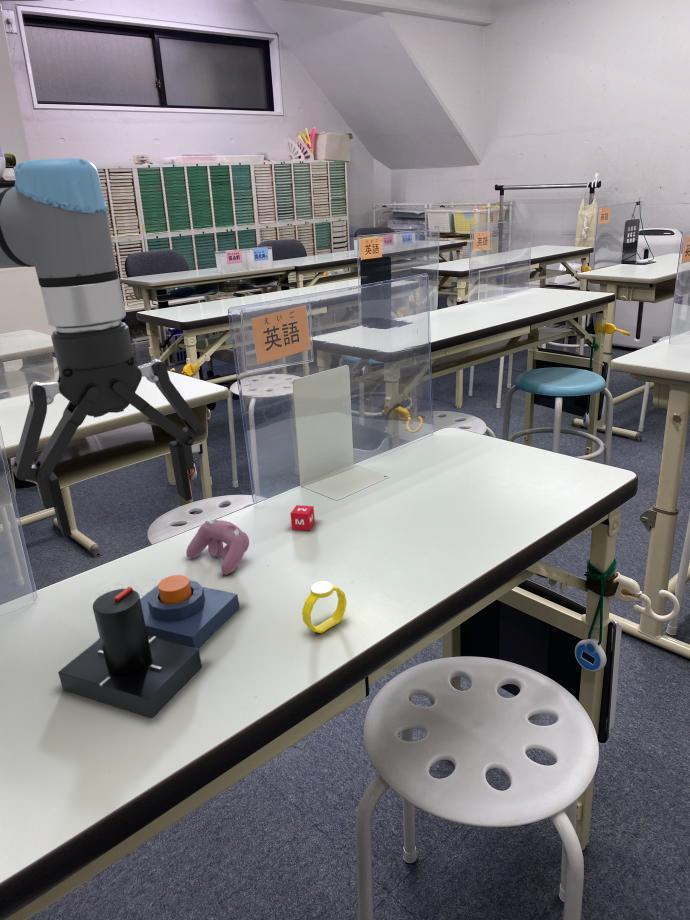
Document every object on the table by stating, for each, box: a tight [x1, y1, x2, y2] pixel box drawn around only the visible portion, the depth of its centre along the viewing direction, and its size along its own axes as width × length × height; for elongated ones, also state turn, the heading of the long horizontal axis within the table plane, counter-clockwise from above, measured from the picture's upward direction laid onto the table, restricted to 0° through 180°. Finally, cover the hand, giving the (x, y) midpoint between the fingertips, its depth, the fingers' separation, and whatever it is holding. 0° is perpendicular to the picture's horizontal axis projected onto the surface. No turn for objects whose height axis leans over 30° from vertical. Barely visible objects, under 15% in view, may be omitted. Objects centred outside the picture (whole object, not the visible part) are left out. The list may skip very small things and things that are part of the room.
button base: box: [140, 579, 240, 649], centre depth 89 cm, size 12×10×4 cm
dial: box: [92, 586, 151, 674], centre depth 77 cm, size 5×5×8 cm
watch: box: [301, 580, 348, 634], centre depth 85 cm, size 6×3×6 cm, turn 129°
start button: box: [157, 574, 192, 604], centre depth 88 cm, size 4×4×2 cm
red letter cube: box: [290, 504, 316, 532], centre depth 112 cm, size 3×3×3 cm
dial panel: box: [57, 636, 203, 719], centre depth 79 cm, size 13×9×3 cm
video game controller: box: [186, 519, 250, 576], centre depth 103 cm, size 10×5×7 cm, turn 49°
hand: (127, 513), depth 77 cm, fingers open, 13 cm apart
